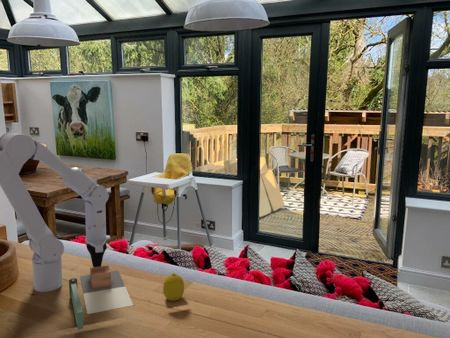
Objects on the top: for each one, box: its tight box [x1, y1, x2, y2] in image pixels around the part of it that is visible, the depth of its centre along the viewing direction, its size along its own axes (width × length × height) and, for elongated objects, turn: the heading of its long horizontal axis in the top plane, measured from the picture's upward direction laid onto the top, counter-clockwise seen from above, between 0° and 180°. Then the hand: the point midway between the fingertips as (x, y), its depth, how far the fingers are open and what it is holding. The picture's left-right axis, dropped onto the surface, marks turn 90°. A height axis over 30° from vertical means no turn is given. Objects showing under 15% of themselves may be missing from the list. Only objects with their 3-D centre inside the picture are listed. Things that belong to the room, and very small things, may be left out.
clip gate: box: [71, 284, 84, 330], centre depth 90 cm, size 1×15×4 cm, turn 26°
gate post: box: [68, 277, 78, 301], centre depth 98 cm, size 2×2×6 cm
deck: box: [79, 270, 134, 315], centre depth 103 cm, size 22×11×1 cm, turn 25°
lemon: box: [162, 272, 185, 302], centre depth 99 cm, size 6×6×8 cm
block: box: [89, 265, 112, 289], centre depth 107 cm, size 5×5×4 cm
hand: (97, 266), depth 114 cm, fingers closed
